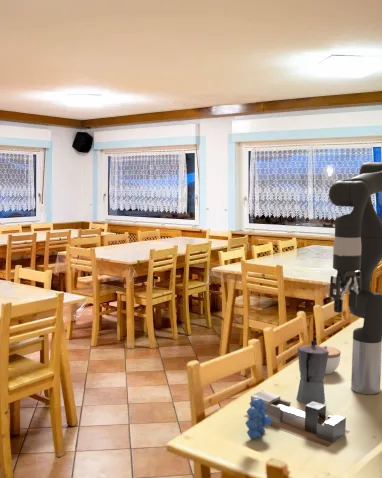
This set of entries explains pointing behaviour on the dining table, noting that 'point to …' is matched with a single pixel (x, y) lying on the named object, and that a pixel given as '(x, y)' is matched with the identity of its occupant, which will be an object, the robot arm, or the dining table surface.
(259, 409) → the grapes
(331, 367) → the lidded jar
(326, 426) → the socket
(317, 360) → the moka pot
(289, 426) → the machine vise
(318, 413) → the grey block
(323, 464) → the dining table surface
